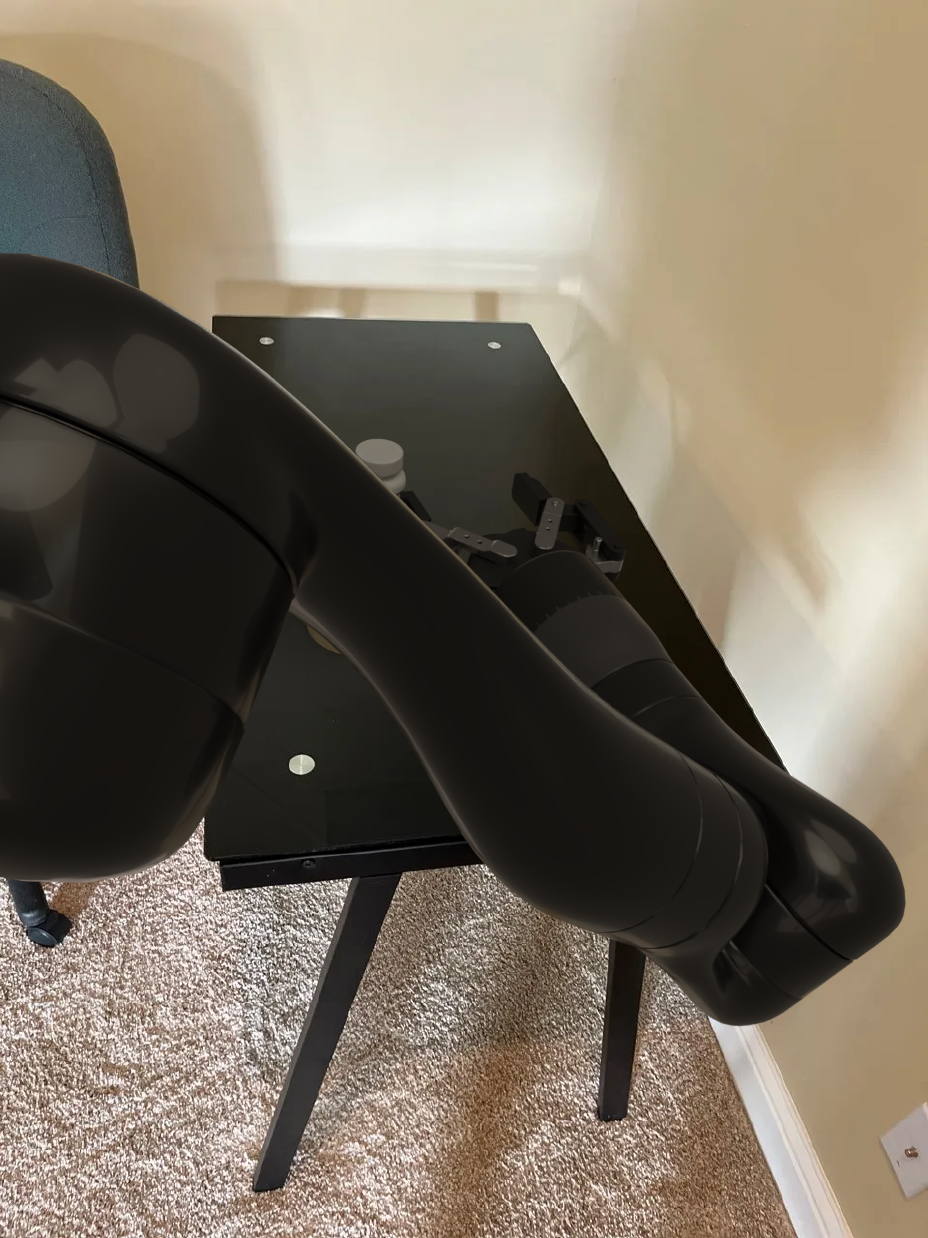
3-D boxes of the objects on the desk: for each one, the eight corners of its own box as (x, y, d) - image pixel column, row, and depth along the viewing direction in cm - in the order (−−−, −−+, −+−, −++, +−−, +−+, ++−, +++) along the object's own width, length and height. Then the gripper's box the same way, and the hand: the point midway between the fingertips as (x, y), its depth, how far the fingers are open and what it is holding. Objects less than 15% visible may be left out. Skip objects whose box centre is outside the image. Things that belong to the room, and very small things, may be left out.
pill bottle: (339, 542, 94) (339, 455, 86) (363, 514, 98) (365, 430, 91) (388, 558, 93) (393, 472, 85) (410, 529, 97) (416, 445, 90)
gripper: (701, 574, 46) (561, 430, 57) (472, 628, 41) (364, 458, 52) (665, 667, 51) (542, 519, 62) (457, 725, 46) (361, 553, 57)
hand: (461, 491), depth 57 cm, fingers open, 8 cm apart
